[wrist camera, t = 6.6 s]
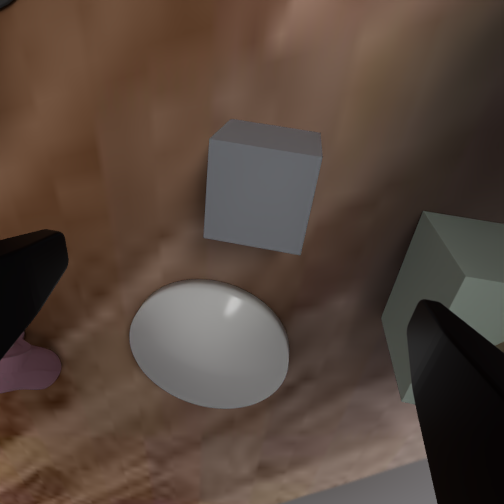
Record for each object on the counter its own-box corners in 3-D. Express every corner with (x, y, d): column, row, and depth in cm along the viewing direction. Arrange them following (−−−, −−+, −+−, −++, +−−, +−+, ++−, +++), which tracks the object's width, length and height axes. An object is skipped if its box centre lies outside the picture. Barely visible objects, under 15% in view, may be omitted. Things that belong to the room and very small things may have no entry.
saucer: (247, 257, 19) (244, 267, 19) (312, 381, 24) (312, 394, 23) (106, 304, 23) (98, 314, 22) (184, 406, 27) (180, 418, 26)
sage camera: (570, 234, 16) (776, 388, 9) (502, 340, 20) (612, 513, 12) (423, 210, 17) (506, 339, 10) (381, 318, 20) (419, 473, 13)
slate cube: (320, 132, 16) (322, 157, 12) (302, 214, 18) (300, 255, 14) (231, 118, 16) (209, 138, 13) (224, 200, 18) (203, 237, 15)
